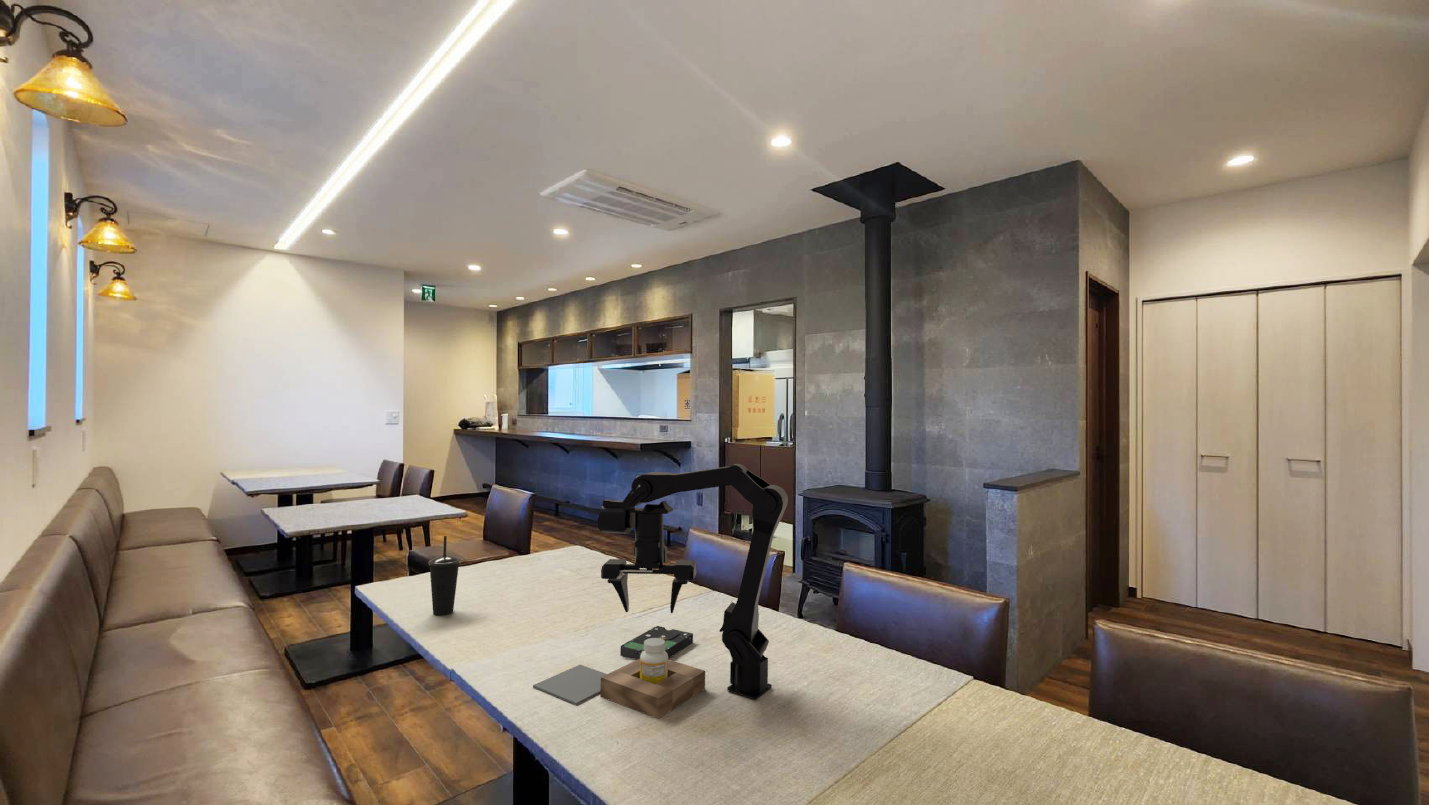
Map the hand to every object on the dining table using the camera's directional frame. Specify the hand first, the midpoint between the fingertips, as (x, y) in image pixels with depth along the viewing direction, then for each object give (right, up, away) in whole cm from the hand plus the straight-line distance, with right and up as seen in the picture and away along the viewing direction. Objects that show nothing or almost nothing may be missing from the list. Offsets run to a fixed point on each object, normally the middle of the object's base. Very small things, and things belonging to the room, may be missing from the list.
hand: (649, 612), depth 120 cm
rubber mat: (-13, -12, -5) cm, 19 cm away
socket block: (+2, -12, -8) cm, 15 cm away
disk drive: (0, -14, +13) cm, 19 cm away
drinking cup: (-58, -13, +36) cm, 69 cm away
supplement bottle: (+2, -13, -8) cm, 15 cm away
